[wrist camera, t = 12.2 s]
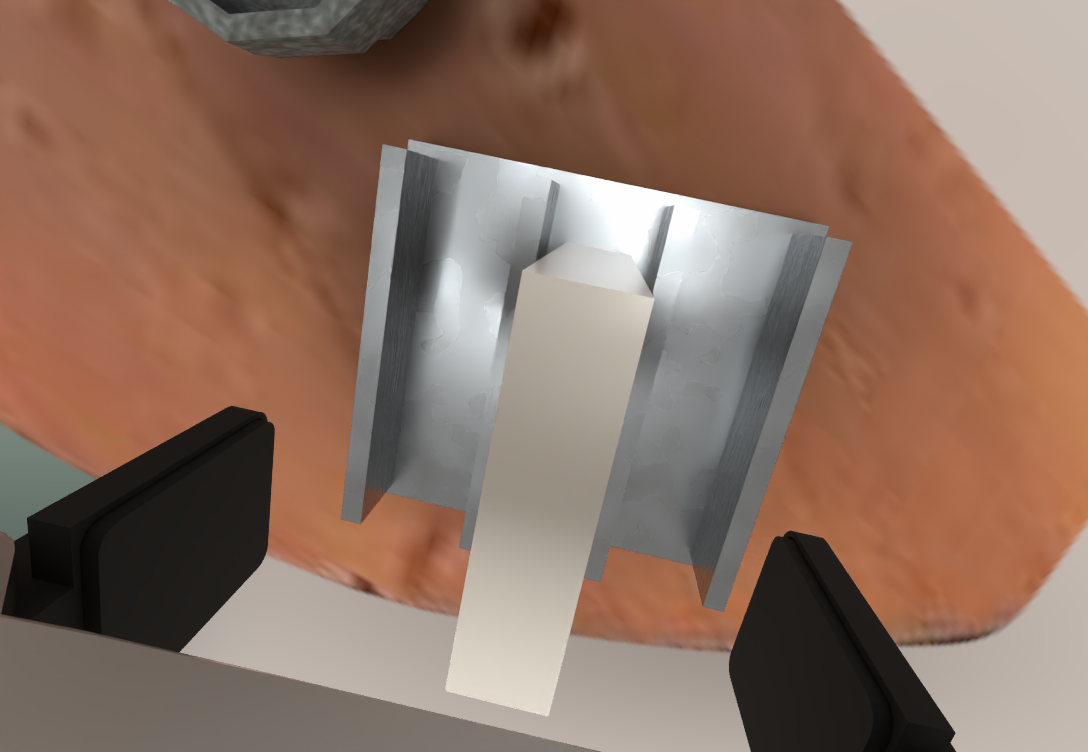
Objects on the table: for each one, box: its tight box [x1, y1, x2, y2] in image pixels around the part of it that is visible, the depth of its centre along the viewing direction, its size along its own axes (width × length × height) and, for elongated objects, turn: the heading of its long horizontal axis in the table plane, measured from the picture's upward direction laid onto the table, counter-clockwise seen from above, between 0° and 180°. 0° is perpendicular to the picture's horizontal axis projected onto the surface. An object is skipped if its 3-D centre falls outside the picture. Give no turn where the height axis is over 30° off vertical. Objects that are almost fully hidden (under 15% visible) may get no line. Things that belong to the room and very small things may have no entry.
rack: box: [341, 139, 853, 612], centre depth 23 cm, size 16×15×5 cm
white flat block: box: [445, 242, 655, 717], centre depth 18 cm, size 2×10×12 cm, turn 169°
